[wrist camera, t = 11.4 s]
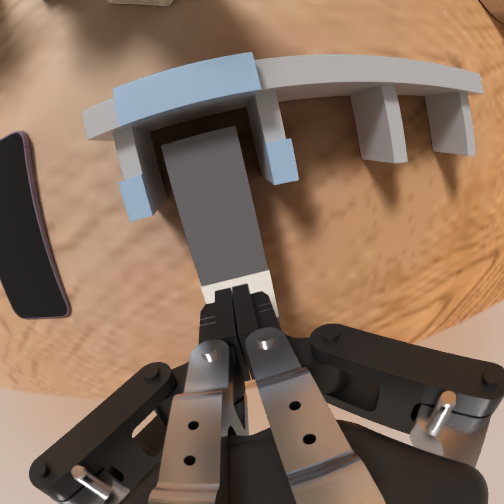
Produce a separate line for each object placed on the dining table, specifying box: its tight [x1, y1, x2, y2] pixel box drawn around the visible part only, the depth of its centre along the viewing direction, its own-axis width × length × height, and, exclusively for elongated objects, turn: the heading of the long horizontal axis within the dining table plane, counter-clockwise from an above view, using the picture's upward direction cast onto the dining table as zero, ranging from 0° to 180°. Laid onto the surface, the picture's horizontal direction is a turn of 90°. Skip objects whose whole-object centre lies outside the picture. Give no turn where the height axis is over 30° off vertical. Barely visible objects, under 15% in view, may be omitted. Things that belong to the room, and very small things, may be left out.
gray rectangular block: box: [161, 126, 280, 325], centre depth 16 cm, size 12×4×4 cm, turn 12°
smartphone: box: [0, 131, 70, 319], centre depth 16 cm, size 7×1×15 cm
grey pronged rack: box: [82, 52, 484, 222], centre depth 13 cm, size 24×6×6 cm, turn 102°
